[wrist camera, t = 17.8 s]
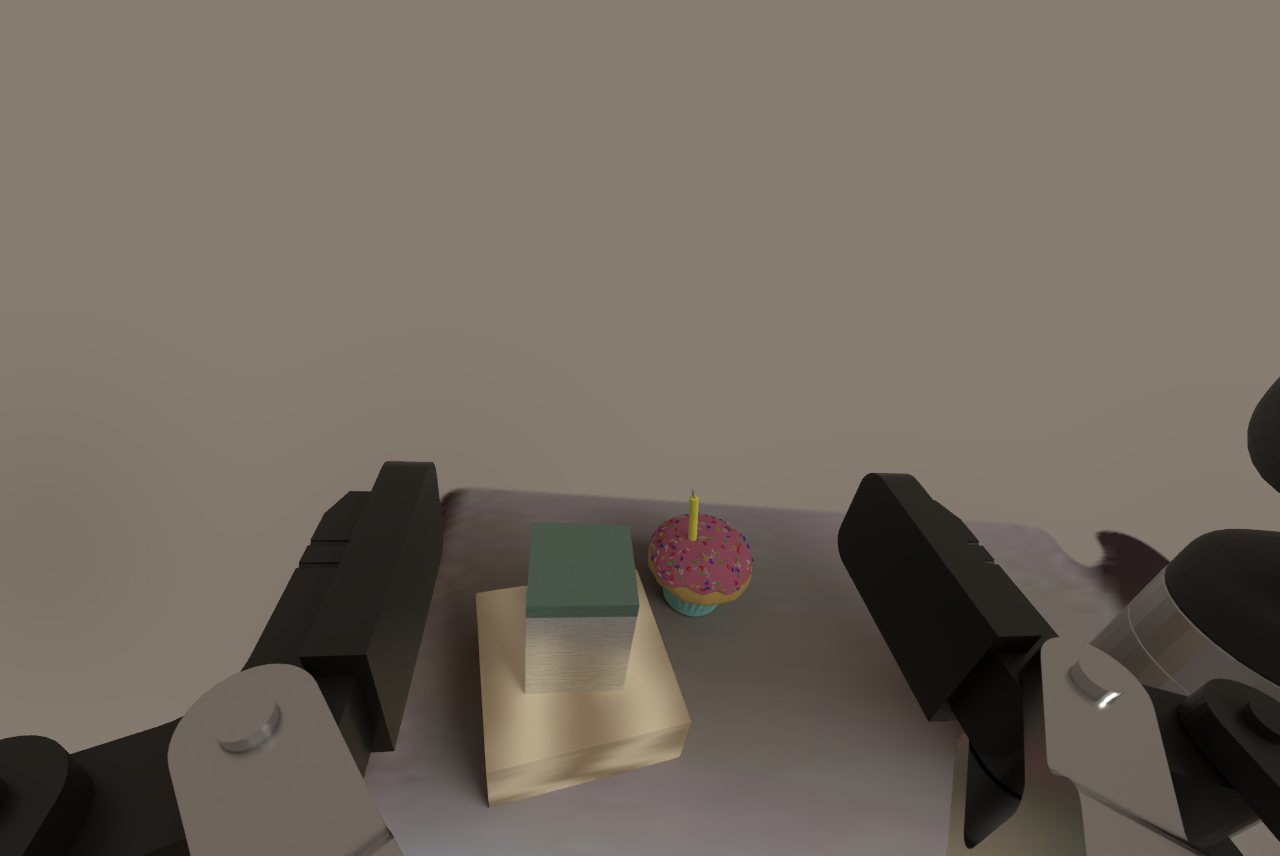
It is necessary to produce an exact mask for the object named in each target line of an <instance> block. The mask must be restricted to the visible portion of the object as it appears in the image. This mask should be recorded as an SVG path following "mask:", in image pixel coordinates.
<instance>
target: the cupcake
mask: <svg viewBox="0 0 1280 856" xmlns="http://www.w3.org/2000/svg"><path fill="white" fill-rule="evenodd" d="M698 504H699V497H698V496H697V495H695V490H694V489H692V495H691V496H690V507H689V515H687V514H685V515H684V514H683V515H682V516H676V517H674V518H672V519H670V520H668V521H665V522H664V524H662V525H659V526H660V527H659V528H658V529H657V530H656V531H655V533H654V535H653V537H652V540H651V542H650V545H649V550H648V566H649V568H650V570H651V571H652V573H653V574H654V576H655V578H656V580H657V582H658V584H659V585H660V586H662V588H663V594H664V597H665V599H666V601H667V602H668V604H669V605H670V606H671V607H672V608H673V609H674V610H676V611H677V612H679V613H681V614H683V615H687V616H692V617H699V616H704V615H706V614H709V613H710V612H712V611H713V610H714V609H715V608H716V606H717V605H718V604H722V603H725V602H731V601H734V600H735V599H737V598H738V597H739V596H740V595H741V593H742V592H743V591H744V590H745V589H746V588H747V587H748V585H749V583H750V579H751V573H752V561H753V559H752V556H751V551H750V549H749V546H748V545H747V544H746V541H745V537H744V536H743V537H744V538H743V537H742V535H741V534H739V533H738V532H737V531H736V530H735V528H734V527H732V526H731V525H730V523H728V522H727V523H728V524H729V525H728V524H727V523H726V522H725V521H724V522H723V520H721V519H720V520H719V519H716V518H717V517H714V518H713V516H711V517H710V516H708V515H703V514H700V513H698Z"/></svg>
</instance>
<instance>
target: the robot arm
mask: <svg viewBox="0 0 1280 856" xmlns="http://www.w3.org/2000/svg"><path fill="white" fill-rule="evenodd" d="M1248 450H1249V454H1250V457H1251V460H1252V462H1253V465H1254V466H1255V468H1256V469H1257V471H1258V472H1259V474H1260V475H1261V477H1262V478H1263V479H1264V480H1265V481H1266V482H1267V483H1269V484H1270V485H1271V486H1272V487H1273V488H1274V489H1275V490H1276V491H1278V492H1279V493H1280V377H1279V378H1278V379H1277V380H1276V382H1275V383H1274V384H1273V385H1272V386H1271V387H1270V388H1269V390H1268V391H1267V392H1266V394H1265V395H1264V396H1263V397H1262V399H1261V400H1260V402H1259V403H1258V405H1257V406H1256V408H1255V410H1254V412H1253V414H1252V417H1251V419H1250V422H1249V426H1248ZM442 546H443V523H442V515H441V507H440V499H439V491H438V482H437V474H436V468H435V465H434V463H433V462H404V461H403V462H402V461H387V462H385V463H384V465H383V466H382V468H381V470H380V473H379V475H378V478H377V479H376V482H375V484H374V486H373V489H372V491H371V492H367V491H349V492H348V493H347V494H346V495H345V496H344V497H343V498H341V499H340V500H339V501H338V502H337V503H336V504H335V505H334V506H332V507H331V508H330V509H329V510H328V511H327V512H325V513H324V515H323V517H322V519H321V521H320V523H319V525H318V527H317V529H316V531H315V533H314V534H313V537H312V538H311V544H310V545H308V546H307V548H306V550H305V552H304V554H303V556H302V558H301V560H300V562H299V568H296V569H295V571H294V573H293V575H292V577H291V579H290V581H289V583H288V585H287V587H286V589H285V590H284V593H283V594H282V597H281V598H280V600H279V602H278V604H277V606H276V608H275V610H274V612H273V614H272V616H271V618H270V620H269V621H268V624H267V625H266V627H265V629H264V631H263V633H262V635H261V637H260V639H259V641H258V643H257V645H256V646H255V648H254V651H253V652H252V654H251V656H250V658H249V660H248V661H247V663H246V664H245V666H244V667H243V669H242V670H241V671H240V673H237V674H235V675H233V676H231V677H229V678H227V679H226V680H224V681H222V682H220V683H219V684H217V685H216V686H214V687H213V688H212V689H210V690H209V691H208V692H207V693H205V694H204V695H203V696H202V697H201V698H200V699H198V700H197V701H196V702H195V703H194V705H193V706H192V707H191V708H190V709H189V710H188V711H187V712H186V714H185V715H184V716H183V717H180V718H179V719H176V720H174V721H172V722H169V723H166V724H164V725H161V726H158V727H155V728H152V729H149V730H146V731H143V732H140V733H136V734H133V735H130V736H127V737H124V738H121V739H117V740H114V741H111V742H108V743H105V744H101V745H98V746H95V747H92V748H89V749H86V750H83V751H79V752H76V753H73V754H69V753H68V752H67V751H66V750H65V749H64V748H63V747H62V746H61V745H60V744H58V743H57V742H56V741H54V740H52V739H49V738H47V737H42V736H35V735H33V736H32V735H30V736H17V737H10V738H5V739H2V740H0V856H403V854H402V852H401V850H400V848H399V846H398V844H397V842H396V840H395V838H394V837H393V835H392V833H391V832H390V831H389V830H388V828H387V826H386V824H385V822H384V821H383V819H382V817H381V815H380V813H379V810H378V808H377V806H376V804H375V802H374V800H373V798H372V796H371V794H370V792H369V790H368V788H367V786H366V784H365V782H364V779H363V778H364V774H365V771H366V767H367V764H368V760H369V756H370V753H371V752H387V751H394V750H395V745H396V741H397V737H398V733H399V729H400V725H401V721H402V717H403V713H404V709H405V704H406V700H407V696H408V692H409V688H410V684H411V680H412V676H413V672H414V667H415V663H416V659H417V655H418V651H419V647H420V643H421V639H422V635H423V631H424V626H425V622H426V618H427V614H428V610H429V606H430V602H431V598H432V594H433V589H434V585H435V581H436V577H437V573H438V569H439V565H440V560H441V555H442ZM838 550H839V554H840V557H841V560H842V562H843V564H844V566H845V567H846V569H847V571H848V573H849V575H850V577H851V578H852V580H853V582H854V584H855V586H856V588H857V590H858V591H859V593H860V595H861V597H862V599H863V601H864V603H865V604H866V606H867V608H868V610H869V612H870V614H871V616H872V617H873V619H874V621H875V623H876V625H877V627H878V629H879V630H880V632H881V634H882V636H883V638H884V640H885V642H886V643H887V645H888V647H889V649H890V651H891V653H892V654H893V656H894V658H895V660H896V662H897V664H898V666H899V667H900V669H901V671H902V673H903V675H904V677H905V679H906V680H907V682H908V684H909V686H910V688H911V690H912V692H913V693H914V695H915V697H916V699H917V701H918V703H919V705H920V706H921V708H922V710H923V712H924V714H925V716H926V718H927V719H928V721H929V722H932V721H948V720H958V721H959V723H960V725H961V726H962V728H963V730H964V732H963V733H962V734H961V735H960V736H959V738H958V740H957V744H956V752H955V765H954V777H953V790H952V802H951V814H950V827H949V839H948V849H947V855H946V856H1243V855H1242V853H1241V852H1240V851H1239V849H1238V848H1237V847H1236V846H1235V844H1234V843H1233V842H1232V841H1231V839H1230V838H1232V837H1234V836H1236V835H1238V834H1239V833H1241V832H1243V831H1245V830H1247V829H1249V828H1251V827H1253V826H1255V825H1257V824H1258V823H1260V822H1263V823H1264V824H1265V825H1266V826H1267V827H1268V829H1269V830H1270V831H1271V832H1272V833H1273V834H1274V836H1275V837H1276V838H1277V839H1278V840H1279V841H1280V532H1276V531H1264V530H1251V529H1224V530H1218V531H1213V532H1209V533H1207V534H1204V535H1202V536H1200V537H1198V538H1196V539H1195V540H1193V541H1192V542H1191V543H1190V544H1189V545H1187V546H1186V547H1185V548H1184V549H1183V550H1182V551H1181V552H1180V553H1179V554H1178V555H1177V556H1176V557H1175V558H1174V559H1173V560H1172V561H1171V562H1170V563H1169V564H1168V565H1167V566H1166V567H1165V568H1164V569H1163V570H1162V571H1161V572H1160V573H1159V574H1158V575H1157V576H1156V577H1155V578H1154V579H1153V580H1152V581H1151V582H1150V583H1149V584H1148V585H1147V586H1146V587H1145V588H1144V589H1143V590H1142V591H1141V592H1140V593H1139V594H1138V595H1137V596H1136V597H1135V598H1134V599H1133V600H1132V601H1131V602H1130V603H1129V604H1128V605H1127V606H1126V607H1125V608H1124V609H1123V610H1122V611H1121V612H1120V613H1119V614H1118V615H1117V616H1116V617H1115V618H1114V619H1113V620H1112V621H1111V622H1110V623H1109V624H1108V625H1107V626H1106V627H1105V628H1104V629H1103V630H1102V631H1101V632H1100V633H1099V634H1098V635H1097V636H1096V637H1095V638H1094V639H1093V640H1092V641H1091V642H1090V643H1089V644H1087V643H1085V642H1082V641H1079V640H1076V639H1072V638H1066V637H1059V636H1058V635H1057V634H1056V633H1055V631H1054V630H1053V629H1052V628H1051V627H1050V625H1049V624H1048V623H1047V622H1046V621H1045V619H1044V618H1043V617H1042V616H1041V615H1040V614H1039V612H1038V611H1037V610H1036V609H1035V608H1034V606H1033V605H1032V604H1031V603H1030V602H1029V600H1028V599H1027V598H1026V597H1025V596H1024V594H1023V593H1022V592H1021V591H1020V590H1019V588H1018V587H1017V586H1016V585H1015V584H1014V583H1013V581H1012V580H1011V579H1010V578H1009V577H1008V575H1007V574H1006V573H1005V572H1004V571H1003V569H1002V568H1001V567H1000V566H999V565H998V564H994V559H993V557H992V556H991V555H990V554H989V553H988V552H987V550H986V549H985V548H984V547H983V546H979V541H978V540H977V538H976V537H975V536H974V535H973V534H972V532H971V531H970V530H969V529H968V528H967V526H966V525H965V524H964V523H963V522H962V520H961V519H959V518H958V517H957V516H955V515H954V514H952V513H951V512H950V511H949V510H947V509H946V508H945V507H943V506H942V505H941V504H939V503H938V502H936V501H935V500H933V499H932V498H931V497H930V496H929V494H928V493H927V492H926V491H925V489H924V488H923V487H922V486H921V485H920V483H919V482H918V481H917V480H916V479H915V478H914V477H913V476H912V475H909V474H897V473H894V474H893V473H869V474H867V475H866V476H865V477H864V478H863V479H862V481H861V483H860V485H859V488H858V490H857V492H856V494H855V496H854V498H853V501H852V503H851V505H850V507H849V509H848V511H847V514H846V516H845V518H844V520H843V522H842V524H841V527H840V529H839V533H838Z"/></svg>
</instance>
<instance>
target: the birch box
mask: <svg viewBox="0 0 1280 856" xmlns="http://www.w3.org/2000/svg"><path fill="white" fill-rule="evenodd" d="M635 571H636V579H637V587H638V596H639V604H640V606H639V611H638V616H637V621H636V627H635V632H634V637H633V642H632V647H631V652H630V658H629V663H628V668H627V673H626V678H625V683H624V688H623V691H601V692H572V693H543V694H525V652H526V597H527V586H520V587H513V588H507V589H500V590H493V591H487V592H480V593H476V606H477V623H478V641H479V658H480V675H481V692H482V710H483V727H484V744H485V761H486V777H487V788H488V800H489V808H492V807H496V806H499V805H503V804H507V803H510V802H514V801H518V800H522V799H525V798H529V797H533V796H537V795H540V794H544V793H548V792H551V791H555V790H559V789H563V788H566V787H570V786H574V785H577V784H581V783H585V782H589V781H592V780H596V779H600V778H604V777H607V776H611V775H615V774H618V773H622V772H626V771H630V770H633V769H637V768H641V767H645V766H648V765H652V764H656V763H659V762H663V761H667V760H671V759H674V758H678V757H680V754H681V752H682V749H683V746H684V743H685V740H686V737H687V734H688V731H689V728H690V725H691V719H690V716H689V713H688V710H687V708H686V705H685V702H684V699H683V697H682V694H681V691H680V688H679V685H678V683H677V680H676V677H675V674H674V671H673V669H672V666H671V663H670V660H669V658H668V655H667V652H666V649H665V646H664V644H663V641H662V638H661V635H660V632H659V630H658V627H657V624H656V621H655V619H654V616H653V613H652V610H651V607H650V605H649V602H648V599H647V596H646V593H645V591H644V588H643V585H642V582H641V580H640V577H639V574H638V571H637V569H635Z"/></svg>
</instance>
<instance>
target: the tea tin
mask: <svg viewBox="0 0 1280 856" xmlns="http://www.w3.org/2000/svg"><path fill="white" fill-rule="evenodd" d="M639 606H640V604H639V596H638V587H637V579H636V571H635V563H634V554H633V546H632V538H631V530H630V525H627V524H555V523H533V524H532V536H531V548H530V560H529V572H528V584H527V597H526V652H525V694H543V693H572V692H601V691H623V688H624V683H625V678H626V673H627V668H628V663H629V658H630V652H631V647H632V642H633V637H634V632H635V627H636V621H637V616H638V611H639Z"/></svg>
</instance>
